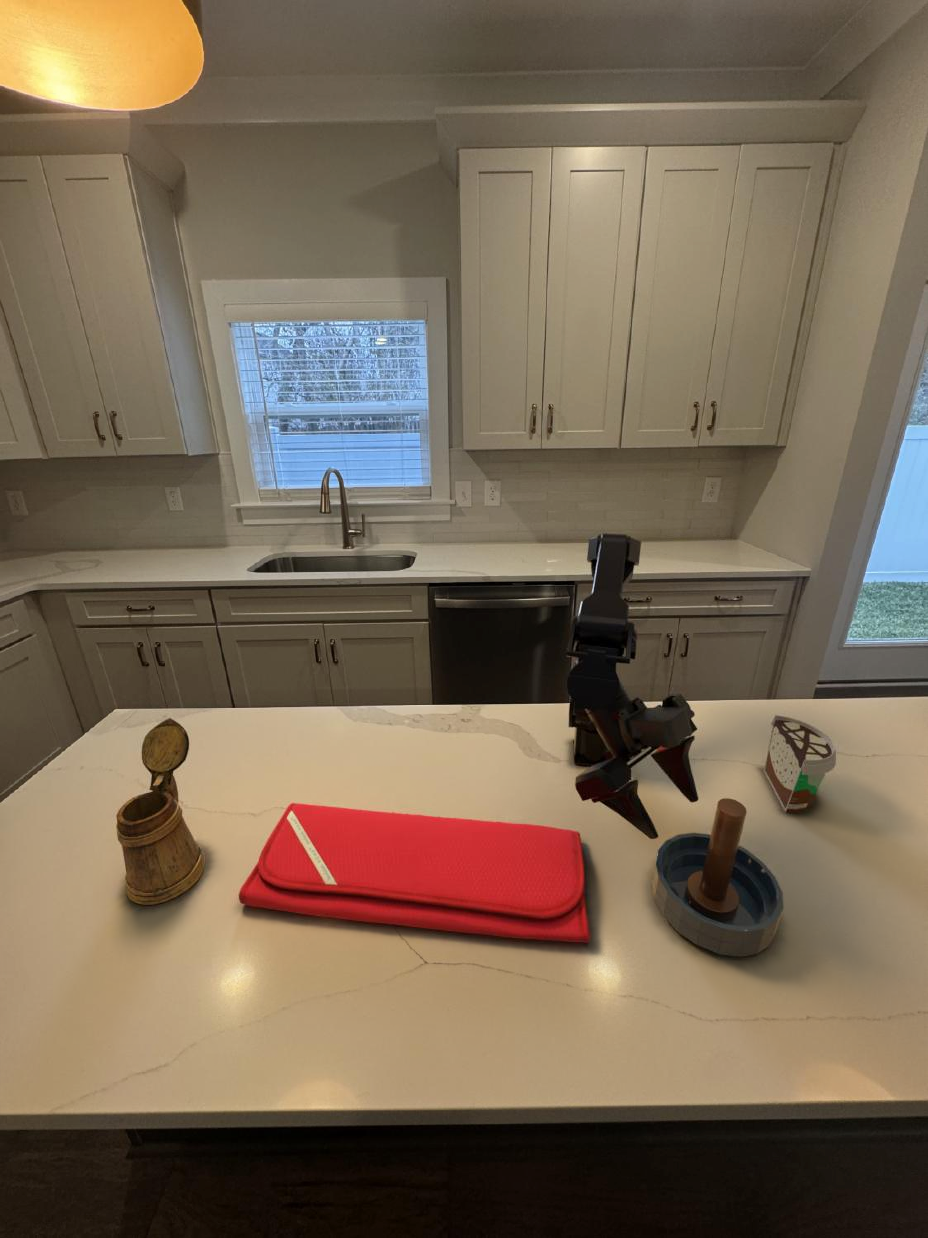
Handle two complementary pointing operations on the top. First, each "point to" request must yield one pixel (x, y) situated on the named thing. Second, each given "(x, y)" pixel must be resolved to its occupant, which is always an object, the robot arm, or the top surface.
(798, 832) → the top surface
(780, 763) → the food container
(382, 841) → the red folding pouch
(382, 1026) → the top surface
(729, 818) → the stirring pestle
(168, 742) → the wooden mug
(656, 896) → the bowl
